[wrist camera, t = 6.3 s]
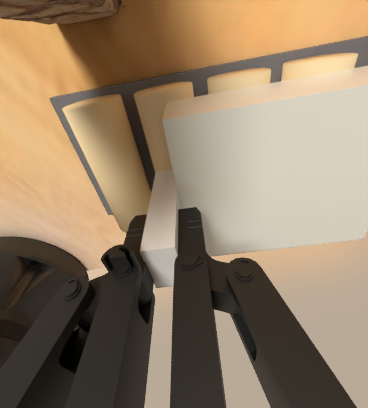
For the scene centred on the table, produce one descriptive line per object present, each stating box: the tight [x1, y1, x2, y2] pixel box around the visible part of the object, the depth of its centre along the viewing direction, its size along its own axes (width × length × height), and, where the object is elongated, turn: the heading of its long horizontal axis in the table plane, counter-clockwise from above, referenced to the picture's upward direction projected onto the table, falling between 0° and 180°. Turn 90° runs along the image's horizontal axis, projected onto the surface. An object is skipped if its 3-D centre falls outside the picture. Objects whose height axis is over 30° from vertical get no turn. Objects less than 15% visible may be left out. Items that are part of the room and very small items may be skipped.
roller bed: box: [49, 36, 368, 233], centre depth 17 cm, size 27×12×5 cm, turn 99°
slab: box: [162, 66, 368, 256], centre depth 13 cm, size 12×10×4 cm
